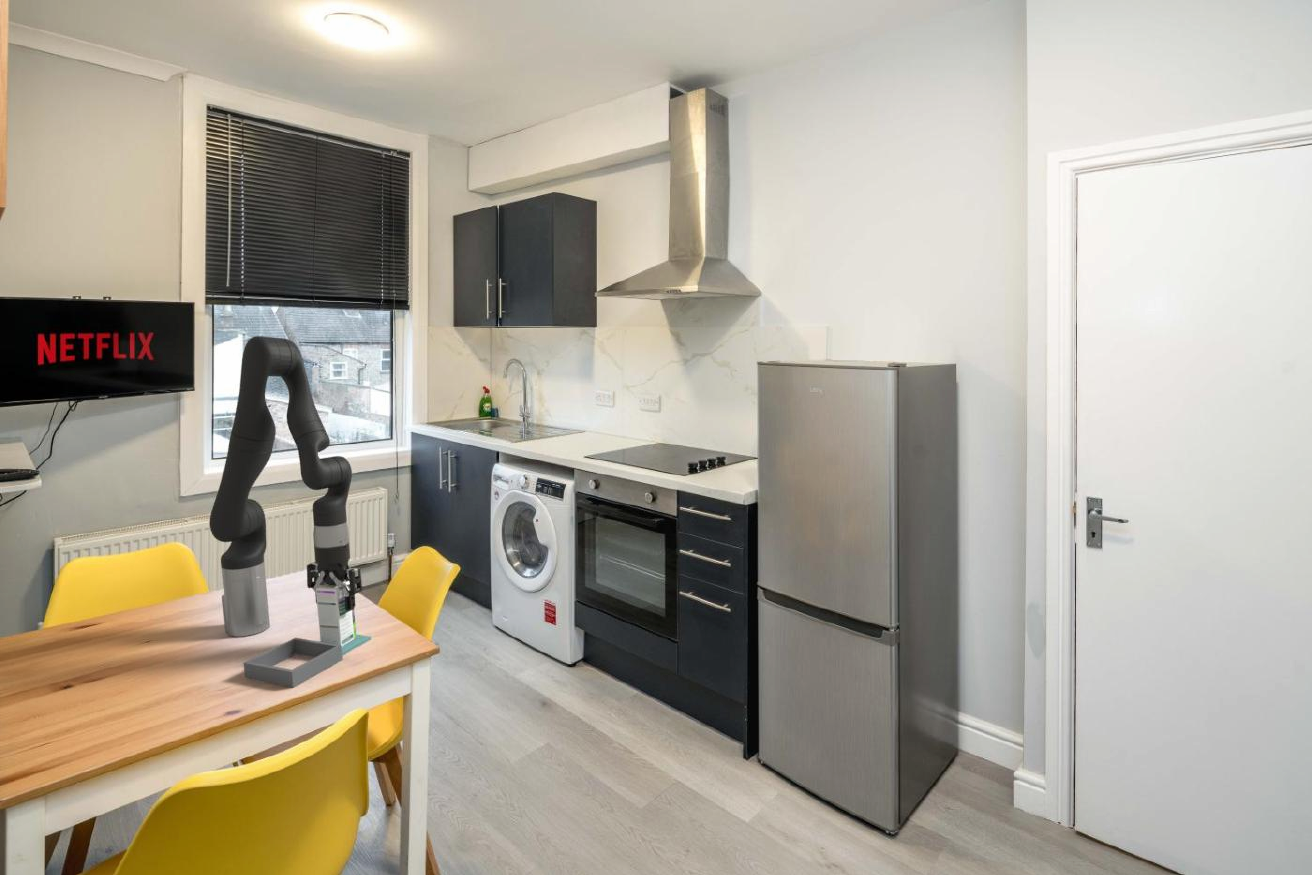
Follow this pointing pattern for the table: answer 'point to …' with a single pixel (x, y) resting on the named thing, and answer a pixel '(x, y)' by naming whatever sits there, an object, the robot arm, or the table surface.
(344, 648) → the mat
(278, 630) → the table surface
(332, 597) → the syrup box
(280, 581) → the table surface
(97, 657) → the table surface
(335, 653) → the bin
